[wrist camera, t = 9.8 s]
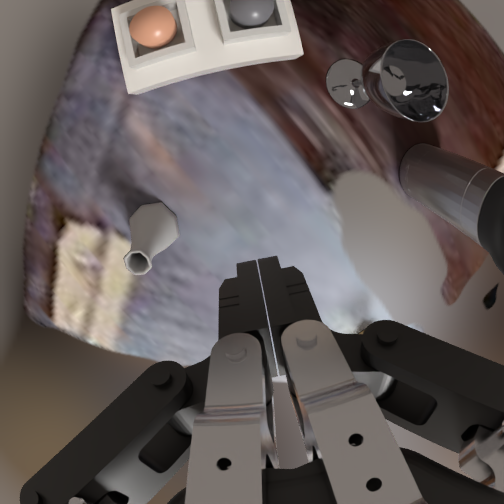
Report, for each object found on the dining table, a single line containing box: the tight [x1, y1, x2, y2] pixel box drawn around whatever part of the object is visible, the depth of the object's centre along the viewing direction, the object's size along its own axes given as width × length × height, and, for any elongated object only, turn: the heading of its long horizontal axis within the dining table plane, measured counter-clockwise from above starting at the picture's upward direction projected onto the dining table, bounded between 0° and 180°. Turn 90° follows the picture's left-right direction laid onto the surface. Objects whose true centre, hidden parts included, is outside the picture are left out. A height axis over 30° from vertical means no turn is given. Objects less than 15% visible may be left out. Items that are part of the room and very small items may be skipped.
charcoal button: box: [229, 0, 274, 29], centre depth 22 cm, size 4×4×3 cm
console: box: [111, 0, 304, 95], centre depth 24 cm, size 20×12×6 cm, turn 101°
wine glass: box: [326, 39, 449, 122], centre depth 25 cm, size 8×8×15 cm
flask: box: [123, 202, 180, 275], centre depth 34 cm, size 7×7×10 cm
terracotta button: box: [129, 6, 177, 49], centre depth 21 cm, size 4×4×3 cm
